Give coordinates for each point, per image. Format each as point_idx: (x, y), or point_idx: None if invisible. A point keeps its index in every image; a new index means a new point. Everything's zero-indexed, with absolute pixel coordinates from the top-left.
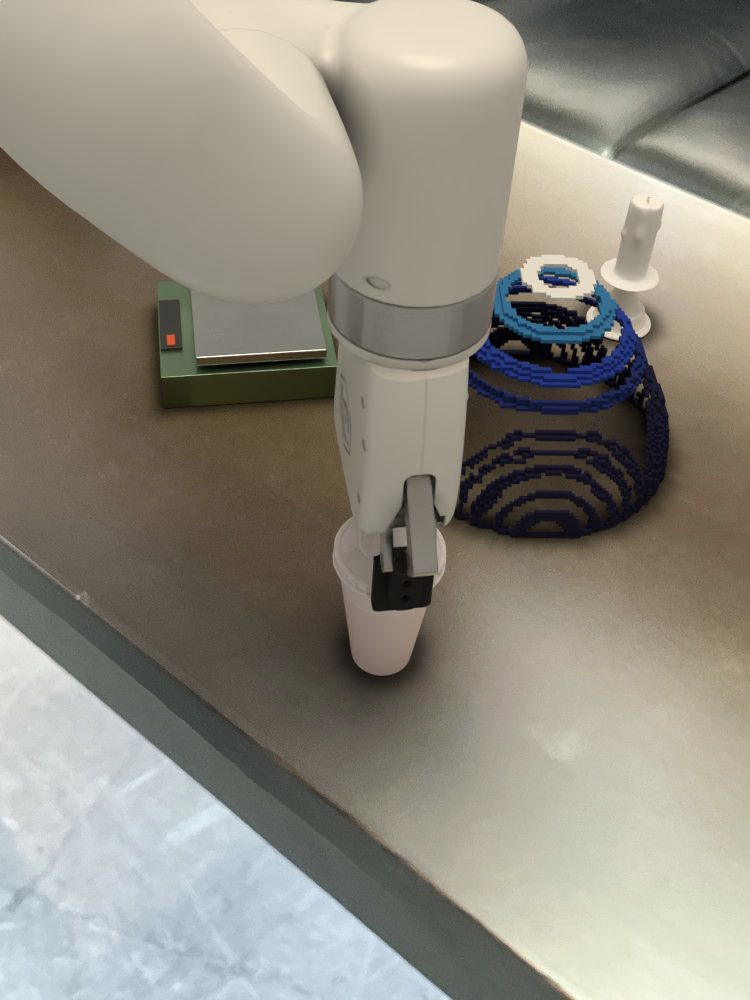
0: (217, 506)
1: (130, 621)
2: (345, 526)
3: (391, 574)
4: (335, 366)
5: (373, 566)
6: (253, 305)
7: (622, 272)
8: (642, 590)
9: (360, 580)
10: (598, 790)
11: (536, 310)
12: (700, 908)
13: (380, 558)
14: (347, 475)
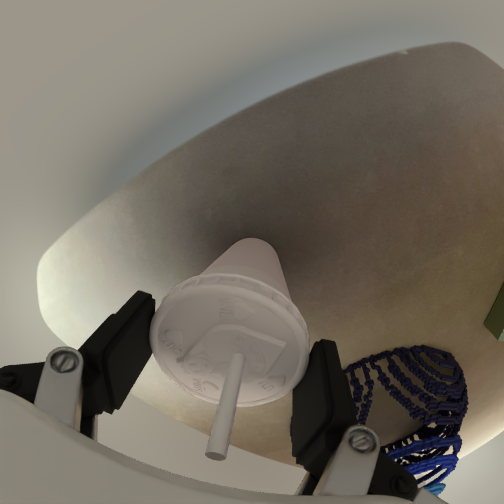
0: (457, 194)
1: (366, 68)
2: (288, 324)
3: (83, 352)
4: (498, 338)
5: (104, 339)
6: None
7: (416, 478)
8: (239, 417)
9: (172, 300)
10: None
11: (431, 456)
12: (64, 331)
13: (80, 361)
14: (76, 499)
